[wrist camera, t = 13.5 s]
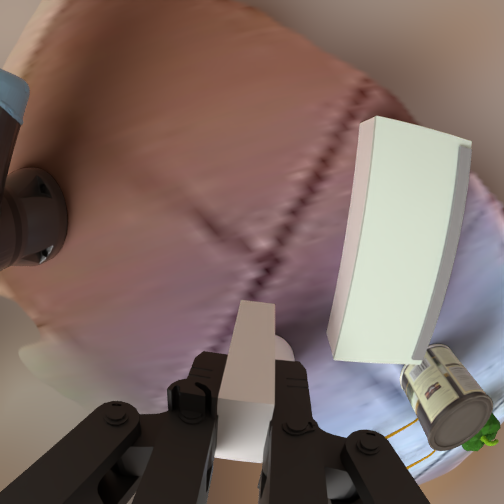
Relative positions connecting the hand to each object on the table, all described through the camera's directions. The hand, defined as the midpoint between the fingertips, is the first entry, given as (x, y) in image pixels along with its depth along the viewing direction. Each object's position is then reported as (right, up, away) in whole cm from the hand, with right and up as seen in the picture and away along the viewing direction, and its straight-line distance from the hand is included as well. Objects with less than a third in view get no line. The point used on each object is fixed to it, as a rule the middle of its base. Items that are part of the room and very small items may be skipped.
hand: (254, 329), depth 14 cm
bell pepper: (+43, -29, +33) cm, 61 cm away
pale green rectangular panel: (+17, +3, +19) cm, 26 cm away
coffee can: (+28, -16, +30) cm, 44 cm away
